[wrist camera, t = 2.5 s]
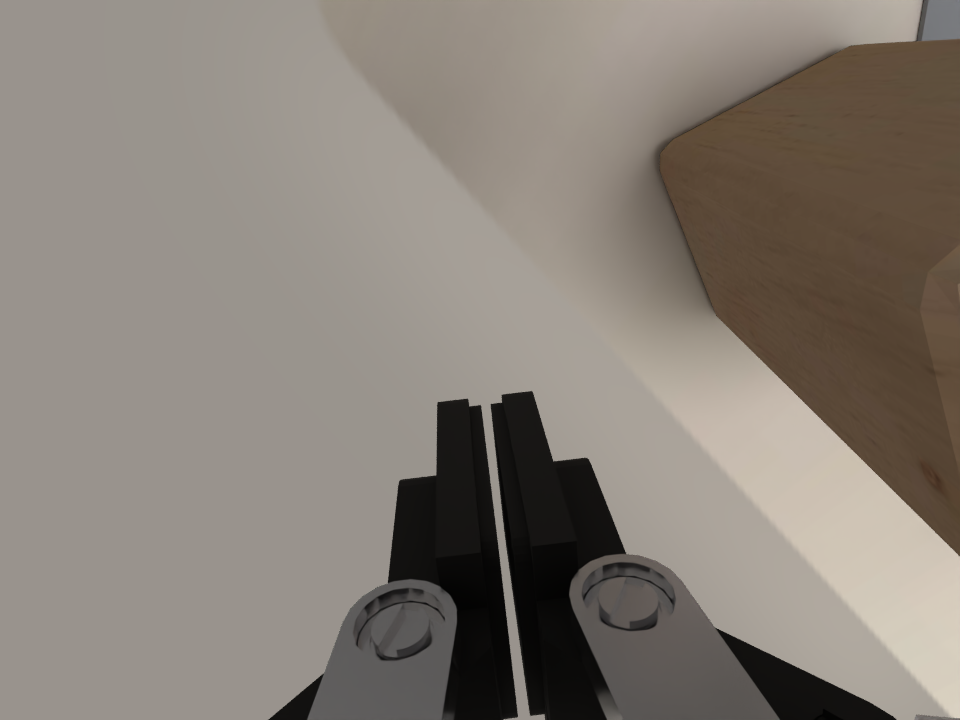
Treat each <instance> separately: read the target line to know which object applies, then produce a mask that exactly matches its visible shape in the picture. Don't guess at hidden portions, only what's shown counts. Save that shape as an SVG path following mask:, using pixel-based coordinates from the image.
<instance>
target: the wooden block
mask: <svg viewBox="0 0 960 720" xmlns="http://www.w3.org/2000/svg"><path fill="white" fill-rule="evenodd" d="M660 173H661V175H662V178H663V181H664V183H665V186H666V188H667V191H668V193H669V196H670V198H671V201H672V203H673V206H674V209H675V211H676V214H677V216H678V219H679V221H680V224H681V226H682V229H683V232H684V234H685V237H686V239H687V242H688V244H689V247H690V249H691V252H692V254H693V257H694V260H695V262H696V265H697V267H698V270H699V272H700V275H701V277H702V280H703V283H704V285H705V288H706V290H707V293H708V295H709V298H710V300H711V303H712V305H713V308H714V311H715V313H716V316H717V317H718V318H719V319H720V320H721V321H722V322H723V323H724V324H725V325H726V326H727V327H728V328H729V329H730V330H731V331H732V332H733V333H734V334H735V335H736V336H737V337H738V338H739V339H740V340H742V341H743V342H744V343H745V344H746V345H747V346H748V347H749V348H750V349H751V350H752V351H753V352H754V353H755V354H756V355H757V356H758V357H759V358H760V359H761V360H762V361H763V362H764V363H765V364H766V365H767V366H768V367H769V368H770V369H771V370H772V371H773V372H774V373H775V374H776V375H777V376H778V377H779V378H780V379H781V380H782V381H783V382H784V383H785V384H786V385H787V386H788V387H789V388H790V389H791V390H792V391H793V392H794V393H795V394H796V395H797V396H798V397H799V398H800V399H801V400H802V401H803V402H804V403H805V404H806V405H807V406H808V407H809V408H810V409H811V410H812V411H813V412H814V413H815V414H816V415H817V416H818V417H819V418H820V419H821V420H822V421H823V422H824V423H825V424H827V425H828V426H829V427H830V428H831V429H832V430H833V431H834V432H835V433H836V434H837V435H838V436H839V437H840V438H841V439H842V440H843V441H844V442H845V443H846V444H847V445H848V446H849V447H850V448H851V449H852V450H853V451H854V452H855V453H856V454H857V455H858V456H859V457H860V458H861V459H862V460H863V461H864V462H865V463H866V464H867V465H868V466H869V467H870V468H871V469H872V470H873V471H874V472H875V473H876V474H877V475H878V476H879V477H880V478H881V479H882V480H883V481H884V482H885V483H886V484H887V485H888V486H889V487H890V488H891V489H892V490H893V491H894V492H895V493H896V494H897V495H898V496H899V497H900V498H901V499H902V500H903V501H904V502H905V503H906V504H907V505H908V506H909V507H911V508H912V509H913V510H914V511H915V512H916V513H917V514H918V515H919V516H920V517H921V518H922V519H923V520H924V521H925V522H926V523H927V524H928V525H929V526H930V527H931V528H932V529H933V530H934V531H935V532H936V533H937V534H938V535H939V536H940V537H941V538H942V539H943V540H944V541H945V542H946V543H947V544H948V545H949V546H950V547H951V548H952V549H953V550H954V551H955V552H956V553H957V554H958V555H959V556H960V39H948V40H930V41H913V42H895V43H877V44H864V45H854V46H849V47H847V48H845V49H844V50H842V51H840V52H838V53H836V54H834V55H832V56H830V57H828V58H826V59H825V60H823V61H821V62H819V63H817V64H815V65H813V66H811V67H809V68H808V69H806V70H804V71H802V72H800V73H798V74H796V75H794V76H792V77H790V78H789V79H787V80H785V81H783V82H781V83H779V84H777V85H775V86H773V87H771V88H770V89H768V90H766V91H764V92H762V93H760V94H758V95H756V96H754V97H753V98H751V99H749V100H747V101H745V102H743V103H741V104H739V105H737V106H735V107H734V108H732V109H730V110H728V111H726V112H724V113H722V114H720V115H718V116H716V117H715V118H713V119H711V120H709V121H707V122H705V123H703V124H701V125H699V126H698V127H696V128H694V129H692V130H690V131H688V132H686V133H684V134H682V135H680V136H679V137H677V138H675V139H673V140H672V141H671V142H670V143H669V144H668V145H667V146H666V148H665V149H664V150H663V151H662V152H661V153H660Z"/></svg>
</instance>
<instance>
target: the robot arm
mask: <svg viewBox="0 0 960 720" xmlns="http://www.w3.org/2000/svg"><path fill="white" fill-rule="evenodd" d="M491 412H492V421H493V431H494V440H495V448H496V458H497V468H498V477H499V486H500V495H501V504H502V513H503V522H504V532H505V540H506V547H507V554H508V562H509V569H510V576H511V583H512V590H513V597H514V605H515V612H516V619H517V626H518V633H519V640H520V647H521V655H522V662H523V668H524V676H525V683H526V690H527V697H528V705H529V711H530V715H531V716H532V715H541V714H545V720H896V719H895V718H894V717H893V716H891V715H890V714H888V713H886V712H885V711H883V710H881V709H880V708H878V707H876V706H874V705H873V704H872V703H870V702H868V701H866V700H864V699H862V698H859V697H857V696H855V695H853V694H851V693H849V692H847V691H845V690H843V689H841V688H839V687H837V686H835V685H833V684H831V683H829V682H826V681H824V680H822V679H820V678H818V677H816V676H814V675H812V674H810V673H808V672H806V671H804V670H802V669H800V668H797V667H795V666H793V665H791V664H789V663H787V662H785V661H783V660H781V659H779V658H777V657H775V656H773V655H771V654H769V653H766V652H764V651H762V650H760V649H758V648H756V647H754V646H752V645H750V644H747V643H746V642H744V641H741V640H740V639H737V638H735V637H733V636H731V635H729V634H727V633H725V632H723V631H721V630H719V629H717V628H715V627H714V626H713V624H712V623H711V622H710V620H709V619H708V617H707V616H706V614H705V613H704V612H703V610H702V609H701V607H700V606H699V605H698V603H697V602H696V600H695V599H694V597H693V596H692V595H691V594H690V592H689V591H688V589H687V588H686V586H685V585H684V583H683V582H682V581H681V580H680V579H679V578H678V577H677V576H676V574H675V573H674V572H673V571H672V570H670V569H669V568H667V567H666V566H664V565H662V564H661V563H659V562H657V561H655V560H651V559H649V558H646V557H642V556H638V555H629V554H626V552H625V550H624V547H623V544H622V542H621V540H620V537H619V534H618V532H617V529H616V527H615V524H614V522H613V519H612V516H611V514H610V511H609V509H608V506H607V504H606V501H605V499H604V496H603V494H602V491H601V488H600V486H599V484H598V481H597V478H596V476H595V473H594V471H593V468H592V466H591V463H590V461H589V459H587V458H580V459H571V460H563V461H554V462H553V459H552V456H551V452H550V449H549V445H548V442H547V439H546V436H545V432H544V428H543V425H542V422H541V418H540V415H539V411H538V408H537V405H536V402H535V398H534V395H533V392H532V391H530V392H521V393H512V394H504V395H502V403H496V404H491ZM515 717H518V714H517V705H516V696H515V688H514V679H513V671H512V662H511V653H510V644H509V635H508V626H507V618H506V609H505V600H504V592H503V583H502V574H501V566H500V557H499V549H498V540H497V532H496V525H495V516H494V508H493V500H492V491H491V484H490V475H489V467H488V459H487V451H486V443H485V434H484V427H483V418H482V410H481V405H479V406H470V407H469V402H468V399H461V400H453V401H445V402H438V405H437V475H436V476H428V477H420V478H411V479H403V480H400V481H399V485H398V494H397V503H396V512H395V522H394V531H393V540H392V549H391V559H390V568H389V577H388V584H385V585H382V586H379V587H377V588H375V589H374V590H372V591H370V592H369V593H367V594H366V595H364V596H362V598H360V599H359V600H358V601H357V602H356V604H354V605H353V607H352V608H351V609H350V610H349V612H348V614H347V616H346V618H345V620H344V621H343V623H342V626H341V629H340V631H339V634H338V637H337V640H336V642H335V645H334V648H333V651H332V653H331V656H330V659H329V661H328V664H327V667H326V670H325V672H324V674H323V675H321V676H320V677H319V678H318V679H316V680H315V681H314V682H313V683H312V684H310V685H309V686H308V687H307V688H306V689H304V690H303V691H302V692H301V693H300V694H299V695H297V696H296V697H295V698H294V699H293V700H291V701H290V702H289V703H288V704H287V705H285V706H284V707H283V708H282V709H281V710H279V711H278V712H277V713H276V714H275V715H274V716H273V717H271V718H270V719H269V720H503V719H508V718H515ZM915 720H960V718H949V717H938V716H927V715H916V717H915Z"/></svg>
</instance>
